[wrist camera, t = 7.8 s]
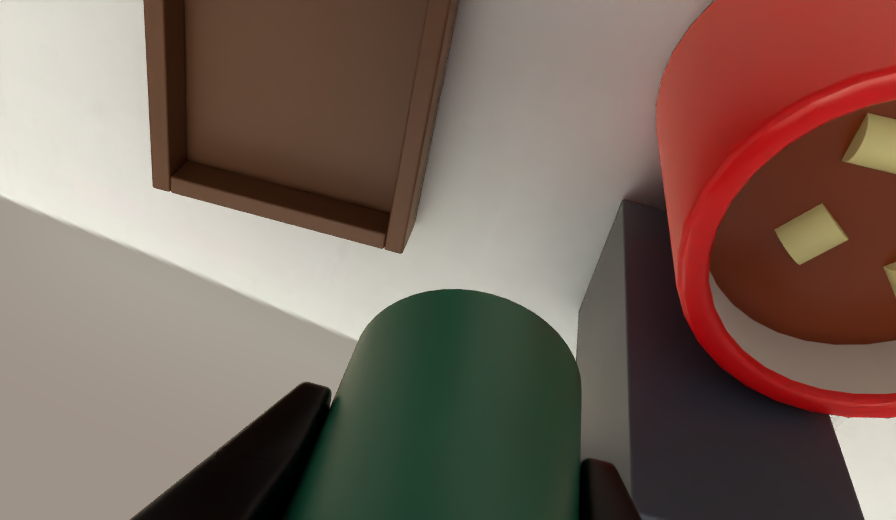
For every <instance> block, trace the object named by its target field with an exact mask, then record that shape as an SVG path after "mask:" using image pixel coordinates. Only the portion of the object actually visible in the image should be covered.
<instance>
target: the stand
mask: <svg viewBox="0 0 896 520" xmlns="http://www.w3.org/2000/svg"><path fill="white" fill-rule="evenodd" d="M576 363H577V366H578V368H579V373H580V377H581V388H582V403H581V461H580V464H581V462H582V461H583V460H584V459H585V458H587V457H591V458H595V459H598V460H602V461H606V462H609V463H612V464H613V465H614V466H615V467H616V469H617V470H618V472H619V474H620V476H621V479H622V481H623V483H624V485H625V487H626V489H627V491H628V493H629V495H630V497H631V499H632V501H633V503H634V505H635V507H636V509H637V511H638V513H639V515H640V517H641V519H642V520H864V517H863V514H862V511H861V508H860V505H859V502H858V499H857V496H856V493H855V490H854V487H853V484H852V481H851V478H850V475H849V472H848V469H847V466H846V463H845V460H844V457H843V454H842V451H841V448H840V445H839V443H838V440H837V437H836V434H835V431H834V428H833V425H832V422H831V419H830V416H829V414H823V413H817V412H810V411H807V410H804V409H800V408H797V407H794V406H790V405H787V404H784V403H780V402H777V401H775V400H773V399H771V398H769V397H766V396H764V395H762V394H760V393H758V392H756V391H754V390H752V389H750V388H748V387H746V386H745V385H743V384H742V383H741V382H739V381H738V380H737V379H735V378H734V377H733V376H731V375H730V374H728V373H727V372H726V371H724V370H723V369H722V368H721V367H720V366H719V365H718V364H717V363H716V362H715V361H714V360H713V359H712V358H711V356H710V355H709V354H708V353H707V352H706V351H705V350H704V349H703V347H702V346H701V345H700V344H699V342H698V341H697V339H696V337H695V335H694V333H693V332H692V330H691V328H690V326H689V324H688V322H687V320H686V319H685V317H684V314H683V310H682V306H681V302H680V298H679V294H678V290H677V286H676V279H675V271H674V264H673V256H672V248H671V240H670V232H669V225H668V217H667V211H664V210H660V209H657V208H653V207H649V206H645V205H641V204H638V203H634V202H630V201H626V200H622V202H621V205H620V207H619V210H618V212H617V215H616V217H615V220H614V223H613V225H612V228H611V230H610V233H609V235H608V238H607V240H606V243H605V246H604V248H603V251H602V253H601V256H600V258H599V261H598V264H597V266H596V269H595V271H594V274H593V276H592V279H591V282H590V284H589V287H588V289H587V292H586V294H585V297H584V300H583V302H582V305H581V307H580V310H579V316H578V334H577V353H576Z"/></svg>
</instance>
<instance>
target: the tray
mask: <svg viewBox="0 0 896 520" xmlns="http://www.w3.org/2000/svg"><path fill="white" fill-rule="evenodd" d="M458 4H459V0H144V19H145V39H146V59H147V79H148V99H149V120H150V140H151V160H152V180H153V187H154V188H157V189H161V190H164V191H171V192H172V193H176V194H179V195H183V196H187V197H191V198H194V199H198V200H202V201H206V202H209V203H213V204H217V205H220V206H224V207H228V208H232V209H235V210H239V211H243V212H247V213H250V214H254V215H258V216H262V217H265V218H269V219H273V220H276V221H280V222H284V223H288V224H291V225H295V226H299V227H303V228H306V229H310V230H314V231H318V232H321V233H325V234H329V235H333V236H336V237H340V238H344V239H347V240H351V241H355V242H359V243H362V244H366V245H370V246H374V247H377V248H381V249H383V248H384V247H385V249H386V250H389V251H392V252H396V253H400V254H401V253H403V251H404V248H405V246H406V244H407V241H408V239H409V236H410V234H411V232H412V229H413V227H414V224H415V219H416V214H417V209H418V204H419V199H420V194H421V189H422V184H423V179H424V174H425V169H426V164H427V159H428V154H429V149H430V144H431V139H432V134H433V129H434V124H435V119H436V114H437V109H438V104H439V99H440V94H441V89H442V84H443V79H444V74H445V69H446V64H447V59H448V54H449V49H450V44H451V39H452V34H453V29H454V24H455V19H456V14H457V9H458Z"/></svg>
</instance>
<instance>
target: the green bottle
mask: <svg viewBox="0 0 896 520" xmlns="http://www.w3.org/2000/svg"><path fill="white" fill-rule="evenodd" d="M581 403H582V388H581V377H580V373H579V368H578V366H577V363H576V361H575V358H574V356H573V354H572V352H571V351H570V349H569V347H568V346H567V344H566V343H565V341H564V340H563V339H562V338H561V336H560V335H559V334H558V333H557V332H556V331H555V330H554V329H553V328H552V327H551V326H550V325H549V324H548V323H547V322H546V321H544V320H543V319H542V318H540V317H539V316H538V315H536V314H535V313H533V312H532V311H530V310H528V309H526V308H525V307H523V306H521V305H519V304H517V303H515V302H512V301H510V300H508V299H505V298H502V297H499V296H496V295H493V294H489V293H484V292H479V291H473V290H463V289H442V290H434V291H427V292H423V293H419V294H415V295H412V296H409V297H407V298H404V299H402V300H399V301H398V302H396V303H394V304H392V305H390V306H389V307H387V308H386V309H384V310H383V311H382V312H380V313H379V314H378V315H377V316H376V317H375V318H374V319H373V320H372V321H371V322H370V323H369V324H368V325H367V327H366V328H365V330H364V331H363V333H362V334H361V336H360V338H359V341H358V343H357V345H356V347H355V350H354V352H353V355H352V357H351V359H350V362H349V364H348V366H347V369H346V371H345V373H344V376H343V379H342V381H341V383H340V385H339V388H338V390H337V392H336V395H335V397H334V400H333V402H332V405H331V407H330V409H329V411H328V414H327V416H326V419H325V421H324V423H323V426H322V428H321V430H320V433H319V435H318V437H317V440H316V442H315V445H314V447H313V449H312V452H311V454H310V456H309V459H308V461H307V464H306V466H305V468H304V471H303V473H302V475H301V478H300V480H299V482H298V485H297V487H296V490H295V492H294V494H293V497H292V499H291V501H290V504H289V506H288V509H287V511H286V513H285V516H284V518H283V520H579V519H580V461H581Z"/></svg>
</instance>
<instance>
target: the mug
mask: <svg viewBox="0 0 896 520" xmlns="http://www.w3.org/2000/svg"><path fill="white" fill-rule="evenodd" d="M656 131H657V139H658V147H659V154H660V162H661V170H662V178H663V186H664V193H665V201H666V209H667V217H668V225H669V232H670V240H671V248H672V256H673V264H674V271H675V279H676V286H677V290H678V294H679V298H680V302H681V306H682V310H683V314H684V317H685V319H686V320H687V322H688V324H689V326H690V328H691V330H692V332H693V333H694V335H695V337H696V339H697V341H698V342H699V344H700V345H701V346H702V347H703V349H704V350H705V351H706V352H707V353H708V354H709V355H710V356H711V358H712V359H713V360H714V361H715V362H716V363H717V364H718V365H719V366H720V367H721V368H722V369H723V370H724V371H726V372H727V373H728V374H730V375H731V376H733V377H734V378H735V379H737V380H738V381H739V382H741V383H742V384H743V385H745V386H746V387H748V388H750V389H752V390H754V391H756V392H758V393H760V394H762V395H764V396H766V397H769V398H771V399H773V400H775V401H777V402H780V403H784V404H787V405H790V406H794V407H797V408H800V409H804V410H807V411H810V412H817V413H823V414H830V415H837V416H843V417H848V418H850V417H868V418H891V417H896V0H715V1H714V2H713V3H712V4H711V5H710V6H709V7H708V8H707V9H706V10H705V11H704V12H703V13H702V14H701V15H700V16H699V17H698V18H697V19H696V21H695V22H694V23H693V24H692V25H691V26H690V27H689V29H688V30H687V32H686V33H685V35H684V36H683V38H682V39H681V41H680V42H679V44H678V45H677V47H676V48H675V50H674V51H673V53H672V55H671V58H670V60H669V62H668V65H667V67H666V69H665V72H664V74H663V76H662V79H661V84H660V89H659V94H658V99H657V103H656Z"/></svg>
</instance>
